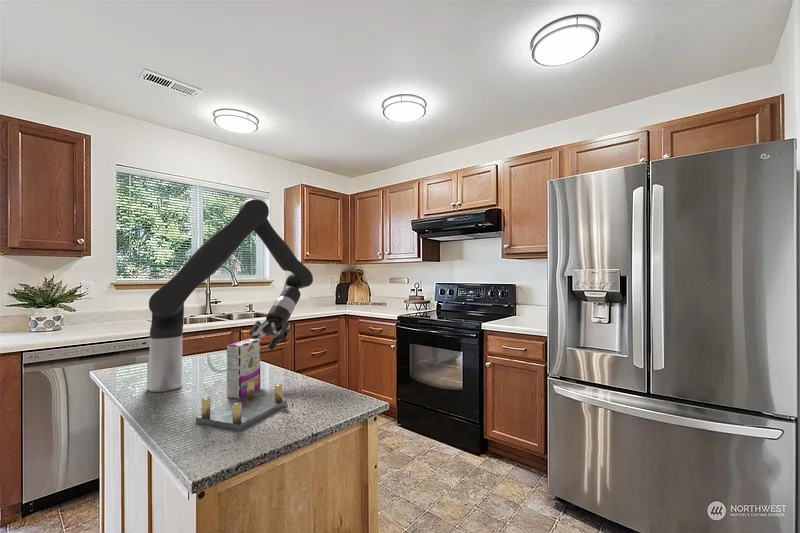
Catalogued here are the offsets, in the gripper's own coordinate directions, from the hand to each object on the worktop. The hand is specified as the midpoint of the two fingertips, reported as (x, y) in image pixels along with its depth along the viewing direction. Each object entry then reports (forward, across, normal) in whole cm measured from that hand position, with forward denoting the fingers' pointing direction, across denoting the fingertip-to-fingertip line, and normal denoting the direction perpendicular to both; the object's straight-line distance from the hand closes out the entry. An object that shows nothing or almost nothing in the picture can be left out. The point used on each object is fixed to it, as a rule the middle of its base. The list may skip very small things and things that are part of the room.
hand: (259, 347), depth 123 cm
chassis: (+24, +13, -6) cm, 28 cm away
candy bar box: (+14, 0, +4) cm, 15 cm away
